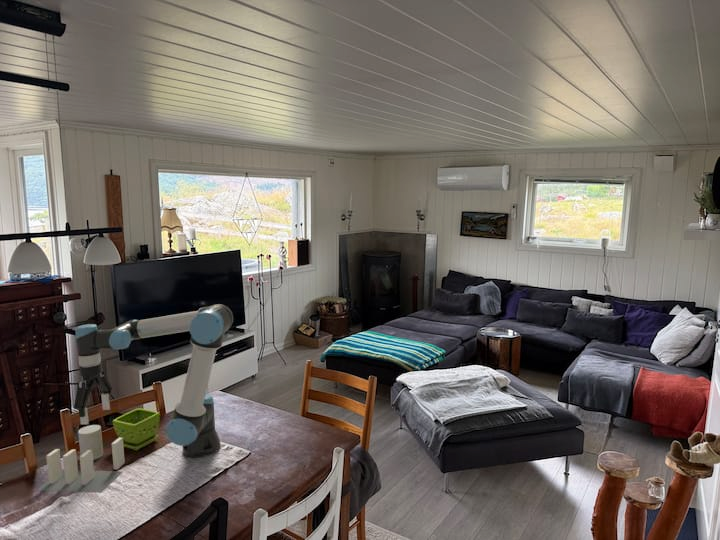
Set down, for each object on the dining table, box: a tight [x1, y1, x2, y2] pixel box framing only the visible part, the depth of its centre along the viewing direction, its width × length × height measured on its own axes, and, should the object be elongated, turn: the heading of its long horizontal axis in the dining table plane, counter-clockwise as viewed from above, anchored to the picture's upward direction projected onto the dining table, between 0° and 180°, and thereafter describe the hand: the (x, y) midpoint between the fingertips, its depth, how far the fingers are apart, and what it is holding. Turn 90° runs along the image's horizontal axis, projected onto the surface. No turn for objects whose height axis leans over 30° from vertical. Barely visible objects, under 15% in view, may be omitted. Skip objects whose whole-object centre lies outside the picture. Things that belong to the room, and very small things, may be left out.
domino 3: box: [79, 450, 95, 485], centre depth 183 cm, size 2×5×11 cm, turn 175°
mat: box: [36, 469, 124, 494], centre depth 184 cm, size 25×14×1 cm, turn 85°
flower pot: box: [112, 407, 161, 451], centre depth 212 cm, size 14×14×13 cm
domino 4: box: [111, 437, 126, 470], centre depth 193 cm, size 2×5×11 cm, turn 175°
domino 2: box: [62, 448, 79, 484], centre depth 184 cm, size 2×5×11 cm, turn 175°
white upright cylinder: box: [77, 424, 104, 461], centre depth 202 cm, size 8×8×12 cm
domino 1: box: [45, 448, 63, 484], centre depth 184 cm, size 2×5×11 cm, turn 175°
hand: (96, 416), depth 193 cm, fingers open, 13 cm apart
